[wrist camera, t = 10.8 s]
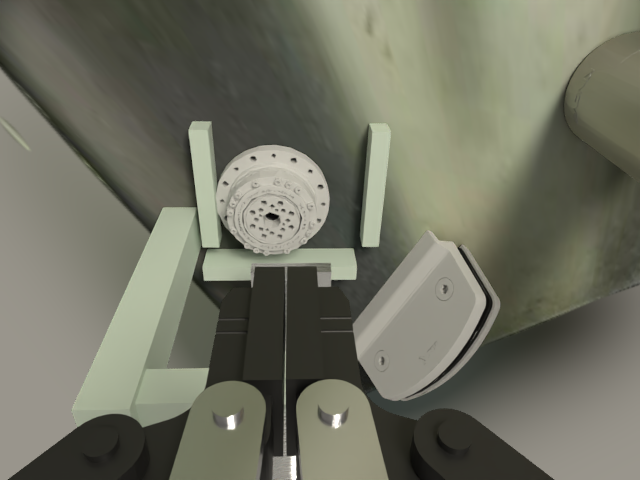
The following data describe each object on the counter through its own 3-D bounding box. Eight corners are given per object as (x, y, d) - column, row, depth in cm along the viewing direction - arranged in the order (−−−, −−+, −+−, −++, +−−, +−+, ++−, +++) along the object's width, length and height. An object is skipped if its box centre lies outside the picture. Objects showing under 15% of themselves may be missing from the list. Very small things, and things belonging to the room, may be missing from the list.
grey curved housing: (429, 226, 47) (490, 303, 40) (461, 236, 50) (523, 310, 43) (339, 341, 54) (377, 422, 47) (370, 344, 57) (411, 421, 50)
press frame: (387, 123, 41) (465, 286, 23) (372, 261, 49) (422, 467, 30) (149, 120, 40) (26, 290, 22) (172, 261, 48) (95, 477, 29)
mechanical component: (202, 219, 45) (300, 255, 48) (194, 245, 42) (301, 283, 44) (241, 124, 41) (347, 170, 44) (236, 144, 37) (353, 193, 40)
